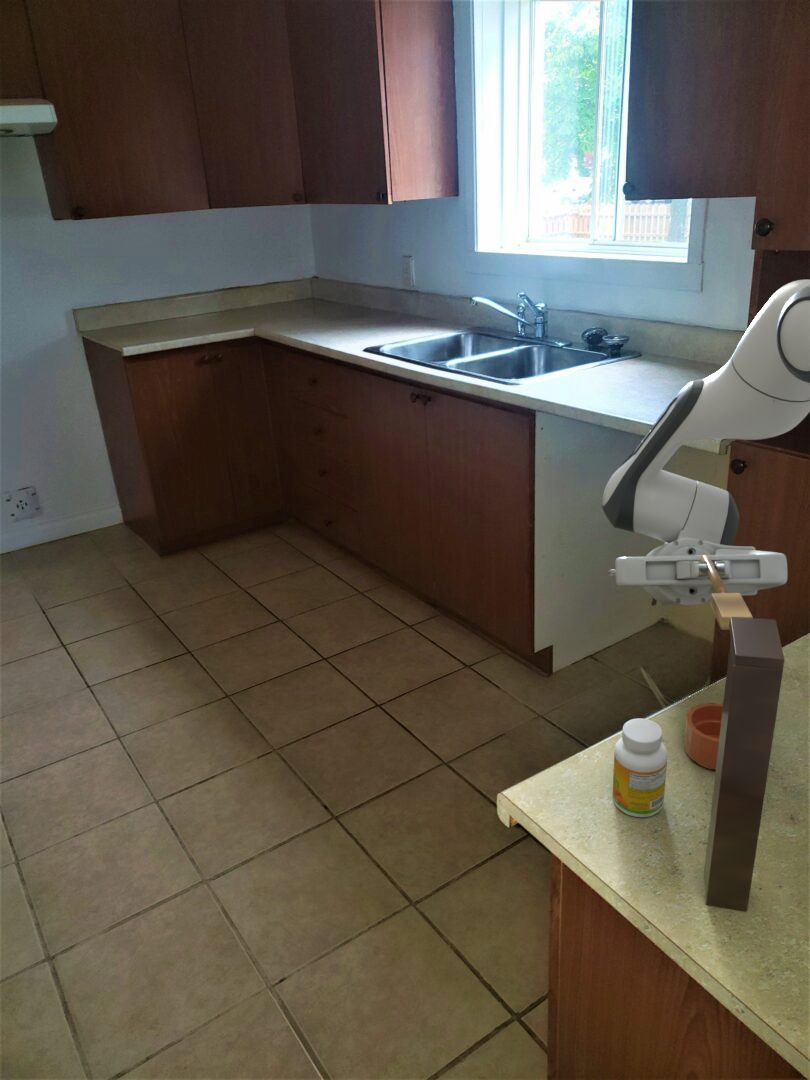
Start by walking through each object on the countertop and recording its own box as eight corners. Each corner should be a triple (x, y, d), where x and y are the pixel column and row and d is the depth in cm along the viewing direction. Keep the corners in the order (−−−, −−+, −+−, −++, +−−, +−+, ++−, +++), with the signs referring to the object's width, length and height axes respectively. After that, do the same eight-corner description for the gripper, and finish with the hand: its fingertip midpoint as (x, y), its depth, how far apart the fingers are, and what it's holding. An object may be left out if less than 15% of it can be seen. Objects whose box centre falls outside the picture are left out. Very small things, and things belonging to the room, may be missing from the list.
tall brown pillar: (741, 861, 81) (775, 619, 69) (747, 911, 75) (784, 659, 63) (703, 856, 82) (730, 616, 70) (705, 905, 76) (735, 655, 64)
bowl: (745, 737, 97) (749, 706, 95) (750, 777, 91) (755, 745, 89) (683, 730, 99) (686, 700, 97) (684, 769, 93) (687, 737, 91)
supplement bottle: (611, 781, 92) (614, 711, 88) (661, 785, 91) (667, 715, 87) (612, 816, 87) (616, 744, 83) (665, 821, 86) (671, 748, 82)
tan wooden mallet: (751, 629, 85) (752, 616, 84) (721, 630, 85) (722, 617, 84) (716, 562, 98) (717, 550, 97) (690, 563, 98) (691, 551, 98)
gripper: (605, 549, 110) (619, 543, 96) (764, 546, 107) (802, 539, 93) (606, 597, 109) (621, 597, 95) (766, 594, 107) (805, 594, 93)
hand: (712, 568), depth 94 cm, fingers closed on tan wooden mallet, 1 cm apart
